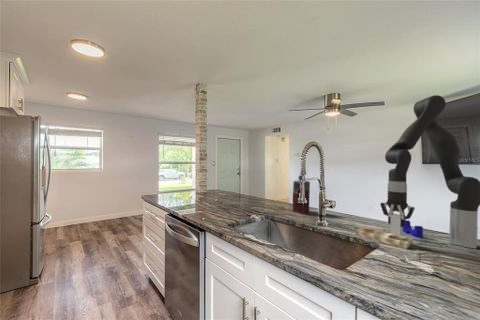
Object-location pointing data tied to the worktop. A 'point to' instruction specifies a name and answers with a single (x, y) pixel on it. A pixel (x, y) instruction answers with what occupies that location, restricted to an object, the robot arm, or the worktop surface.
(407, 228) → the cable clip
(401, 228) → the steel peg
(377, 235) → the birch rail
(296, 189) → the dark red bottle
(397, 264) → the worktop surface
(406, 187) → the robot arm
